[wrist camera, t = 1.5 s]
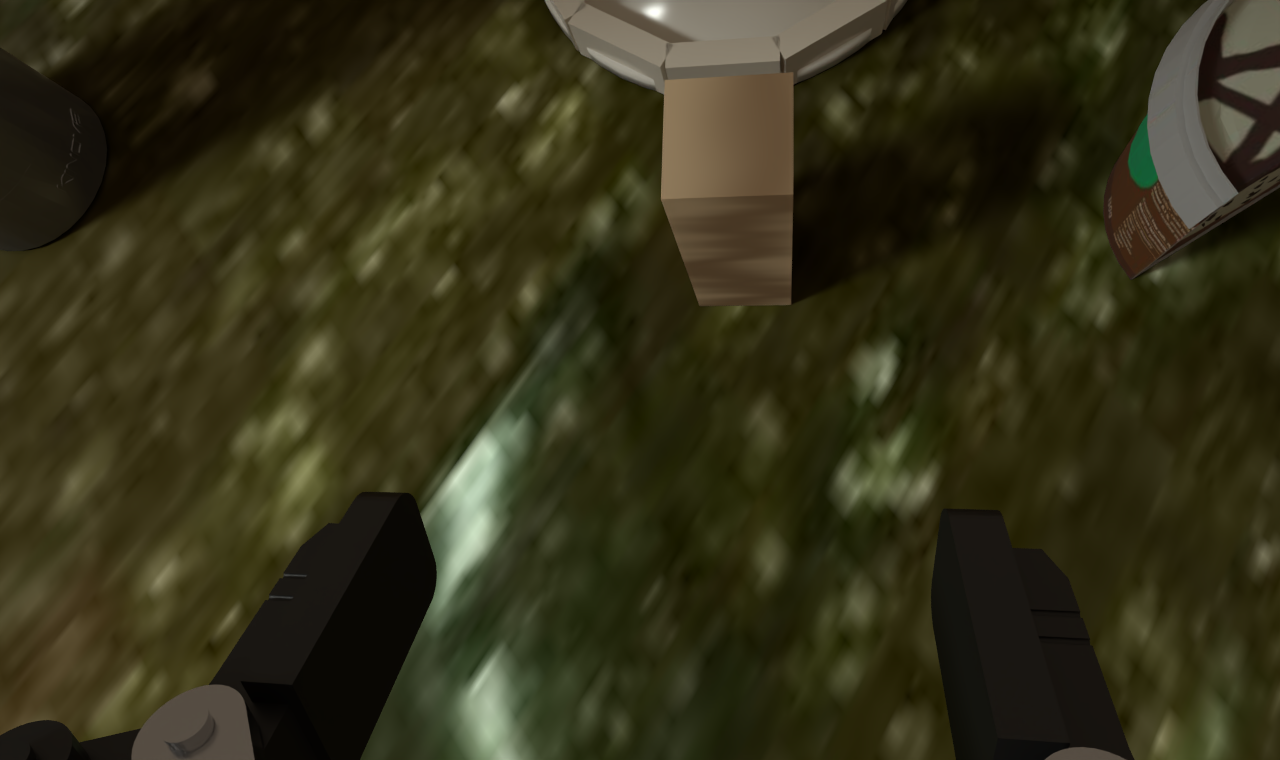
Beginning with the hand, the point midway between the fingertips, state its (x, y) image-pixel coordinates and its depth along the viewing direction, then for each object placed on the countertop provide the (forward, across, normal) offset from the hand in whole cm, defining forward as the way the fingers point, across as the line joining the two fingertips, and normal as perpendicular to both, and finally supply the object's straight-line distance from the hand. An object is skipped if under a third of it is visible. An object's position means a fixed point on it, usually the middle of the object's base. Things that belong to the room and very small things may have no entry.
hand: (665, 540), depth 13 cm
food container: (+28, -18, +5) cm, 34 cm away
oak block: (+25, 0, +8) cm, 26 cm away
